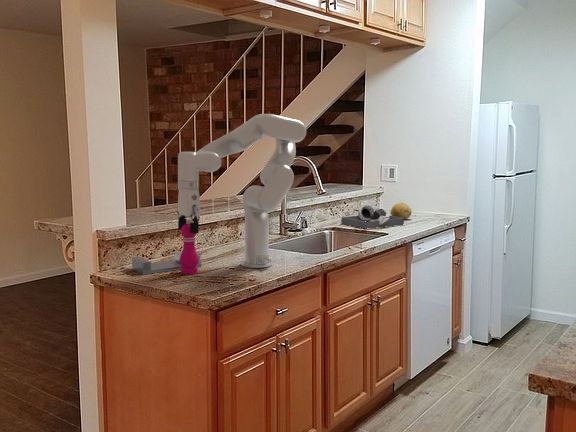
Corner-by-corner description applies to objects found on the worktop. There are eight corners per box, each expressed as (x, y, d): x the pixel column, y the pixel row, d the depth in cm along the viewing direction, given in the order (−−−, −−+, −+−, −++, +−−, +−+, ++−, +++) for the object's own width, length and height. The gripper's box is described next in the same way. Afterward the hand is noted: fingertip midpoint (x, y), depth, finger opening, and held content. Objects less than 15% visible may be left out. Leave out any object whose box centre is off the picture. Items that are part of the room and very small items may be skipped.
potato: (395, 217, 369) (395, 201, 367) (413, 219, 361) (414, 203, 359) (387, 219, 361) (387, 202, 359) (405, 221, 353) (406, 204, 351)
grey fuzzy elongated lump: (353, 220, 347) (353, 204, 345) (367, 219, 351) (368, 203, 350) (377, 228, 325) (378, 210, 323) (392, 227, 329) (393, 209, 327)
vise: (201, 266, 232) (201, 255, 231) (143, 274, 218) (142, 263, 217) (189, 261, 241) (189, 250, 240) (132, 268, 227) (131, 257, 226)
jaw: (200, 262, 232) (200, 255, 232) (184, 264, 228) (184, 257, 228) (190, 258, 239) (190, 251, 239) (174, 260, 235) (174, 253, 235)
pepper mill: (190, 269, 228) (189, 217, 225) (203, 272, 223) (202, 219, 220) (175, 272, 222) (174, 219, 219) (188, 275, 218) (187, 221, 215)
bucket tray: (403, 225, 339) (404, 218, 338) (366, 229, 322) (366, 222, 322) (377, 220, 356) (378, 213, 355) (341, 224, 339) (341, 217, 339)
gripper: (208, 187, 213) (208, 234, 215) (187, 183, 227) (187, 227, 229) (189, 188, 209) (189, 235, 211) (169, 183, 223) (169, 228, 225)
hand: (188, 231), depth 220 cm, fingers open, 9 cm apart
